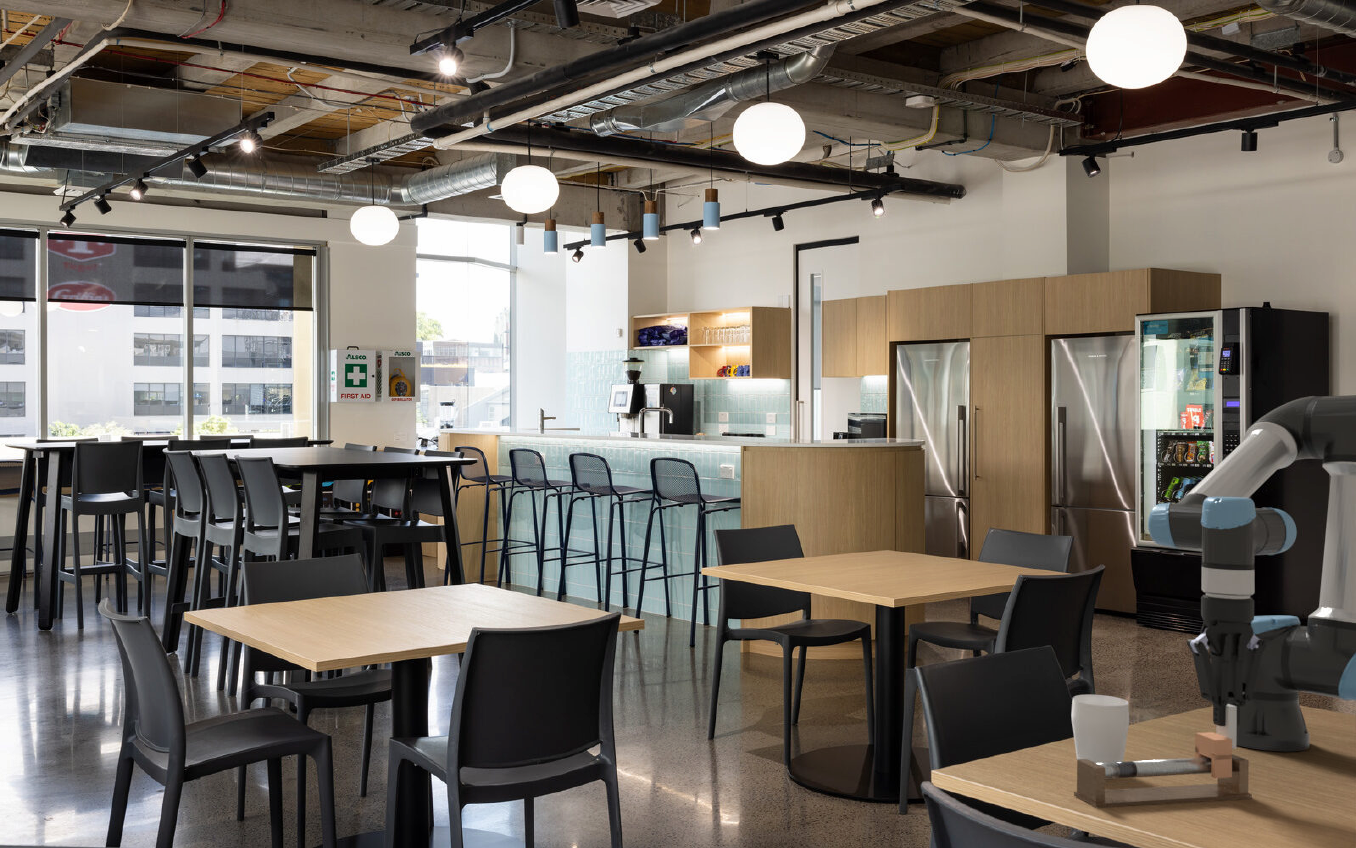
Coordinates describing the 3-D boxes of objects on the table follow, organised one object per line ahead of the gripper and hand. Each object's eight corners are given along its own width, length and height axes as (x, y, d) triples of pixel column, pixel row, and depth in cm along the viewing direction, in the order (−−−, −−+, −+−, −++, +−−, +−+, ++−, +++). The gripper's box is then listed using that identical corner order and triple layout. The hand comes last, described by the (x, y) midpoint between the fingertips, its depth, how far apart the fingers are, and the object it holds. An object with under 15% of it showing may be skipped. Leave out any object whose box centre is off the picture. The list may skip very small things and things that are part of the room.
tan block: (1211, 769, 182) (1212, 732, 182) (1231, 777, 178) (1232, 739, 178) (1195, 769, 182) (1195, 733, 182) (1214, 778, 177) (1215, 740, 177)
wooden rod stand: (1225, 787, 183) (1225, 751, 184) (1251, 798, 178) (1251, 761, 178) (1073, 795, 178) (1074, 758, 178) (1096, 808, 172) (1096, 769, 172)
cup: (1133, 783, 185) (1134, 708, 185) (1074, 778, 187) (1075, 704, 187) (1123, 767, 194) (1124, 696, 194) (1067, 763, 196) (1068, 693, 196)
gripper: (1246, 591, 186) (1245, 738, 185) (1175, 592, 183) (1174, 742, 182) (1280, 598, 178) (1279, 751, 178) (1207, 599, 175) (1206, 754, 175)
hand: (1226, 746), depth 180 cm, fingers closed
